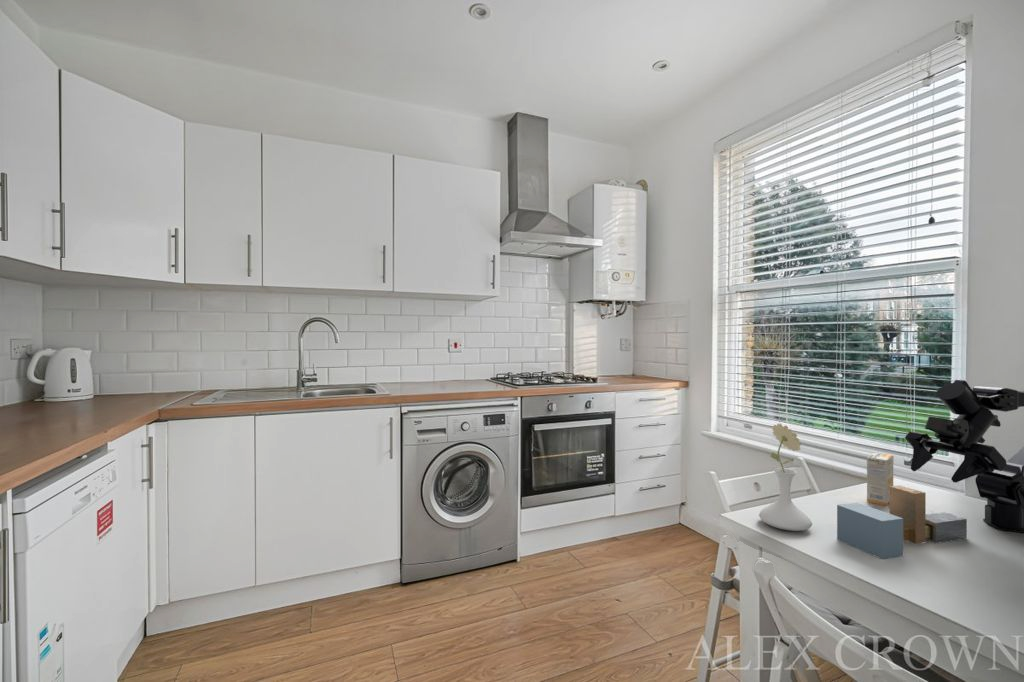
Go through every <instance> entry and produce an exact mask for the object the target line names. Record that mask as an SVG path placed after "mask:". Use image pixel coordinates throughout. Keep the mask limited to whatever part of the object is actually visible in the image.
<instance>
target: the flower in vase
mask: <svg viewBox="0 0 1024 682" xmlns="http://www.w3.org/2000/svg"><path fill="white" fill-rule="evenodd" d="M771 428H772V431H773V432H772V434H773V435H774V436H775V438H776V439H777V441H778V442H779V445H778V448H777V454H776V453H775V452H774V451H772V453H771V454H770V456H769V457H770V458H771V459H773V460H775V461H777V462H779V464H780V467H774V468H773V471H774V472H775V475H776V476H777V478H778V484H779V496H778V499H777V500H776V501H774V502H773V503H770V504H769V505H767V506H765V507H764V508H762V509H761V510H760V512H759V513H758V517H759V518H760V520H761V521H762V522H764V523H765V524H768V526H769V525H770V526H771V527H774V528H777V529H781V530H784V531H792V532H793V531H794V532H797V531H798V532H800V531H801V532H802V531H806V530H809V529H810V528H811V527H812V526H813V522H812V520H811V518H810V517H809V516H808V515H807V514H806V513H805V512H804V511H803V510H802V509H800V507H798V506H797V505H796V504H795V503H794V502H793V500H792V497H791V486H792V481H793V478H794V476H796V474H797V473H798V471H796V470H794V469H790V468H785V467H784V466H783V465H786V464H788V463H790V462H792V461H794V460H795V459H794V458H792V459H791V460H788V461H786V460H785V461H784V462H783V463H782V460H781V458H780V450H781V447H782V446H783V447H785V448H787V449H788V450H791V451H794V452H796V451H797V452H798V451H801V446H802V444H801V442H800V439H799V438H798V437H797V436H798V435H797V433H796V432H793V430H792V429H790V428H789V426H787V425H784V426H783V424H781V423H776V424H773V425H772V426H771Z"/></svg>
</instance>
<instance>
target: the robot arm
mask: <svg viewBox="0 0 1024 682" xmlns="http://www.w3.org/2000/svg"><path fill="white" fill-rule="evenodd" d="M935 395H936V397H937V398H938V399H939V400H940V401H941V403H942V404H944V406H945V407H946V408H947V409H948V410H949V411H950V412H951V413H952V414H954V415H956V416H957V415H958V416H957V417H955V418H954V419H949V418H943V417H938V416H937V417H936V416H928V418H927V421H926V423H925V426H924V429H925V430H929V431H931V432H933V433H934V435H933V436H934V437H935V438H936V439H939V441H938V440H933V439H932V437H931V436H930V435H928V433H924V432H919V431H909V432H908V433H907V434H906V435H905V437H904V439H905V440H906V441H907V442H908V443H909V445H910V446H911V447H912V459H911V465H910V469H911V471H913V472H916V471H918V470H920V469H921V468H922V467H923V466H925V465H926V464H927V463H929V461H931V460H932V459H933V458H934V456H933V455H934V454H936V453H937V452H938V451H943V452H948V453H951V454H956V455H958V456H959V455H960V456H963V460H962V462H961V463H960V465H959V467H958V468H957V469H956V470H955V472H954V473H953V475H952V477H951V478H950V480H951V482H952V483H959V482H960V481H964V480H966V479H970V478H972V477H974V476H975V485H976V487H977V491H978V494H979V496H980V498H984V499H986V503H987V504H985V505H984V518H982V520H983V522H984V523H987V524H988V523H989V524H988V525H990V526H991V527H994V528H995V529H997V530H1000V531H1008V532H1009V531H1010V532H1017V533H1024V446H1023V447H1022V448H1020V449H1019V450H1018V451H1017V452H1016V453H1015V454H1013V455H1012V456H1011V457H1010V458H1009V459H1008V460H1007V459H1006V458H1005V457H1004V456H1003V455H1002V454H1001V453H1000V452H999V451H998V450H997V448H996V447H995V446H992V445H989V444H984V443H985V442H986V439H985V438H984V437H983V436H984V435H985V433H986V432H987V431H988V430H989V428H990V427H991V426H992V427H998V428H999V427H1001V421H1000V420H999V418H998V417H999V416H998V415H996V414H994V412H992V411H996V412H997V411H998V412H1005V413H1007V412H1012V411H1015V410H1018V409H1019V408H1021V407H1024V390H1017V389H1012V388H1009V387H1007V388H1006V387H1000V386H999V387H996V386H984V385H976V386H974V387H970V385H969V383H968V382H967V381H966V380H965V379H955V380H954V381H953V382H950V383H947V384H944V385H942V386H941V387H939V388H938V389H937V390H936V394H935Z"/></svg>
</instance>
